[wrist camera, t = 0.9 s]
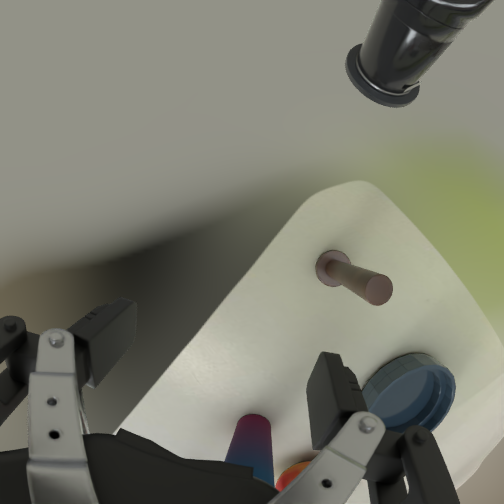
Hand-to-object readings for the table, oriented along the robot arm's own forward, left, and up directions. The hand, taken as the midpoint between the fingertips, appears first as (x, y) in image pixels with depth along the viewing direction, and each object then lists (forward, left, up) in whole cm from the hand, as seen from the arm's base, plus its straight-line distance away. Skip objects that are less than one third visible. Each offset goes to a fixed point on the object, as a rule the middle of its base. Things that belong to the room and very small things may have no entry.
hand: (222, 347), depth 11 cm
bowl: (+8, +28, -23) cm, 38 cm away
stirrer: (-5, +8, -23) cm, 25 cm away
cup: (+21, +9, -24) cm, 33 cm away
